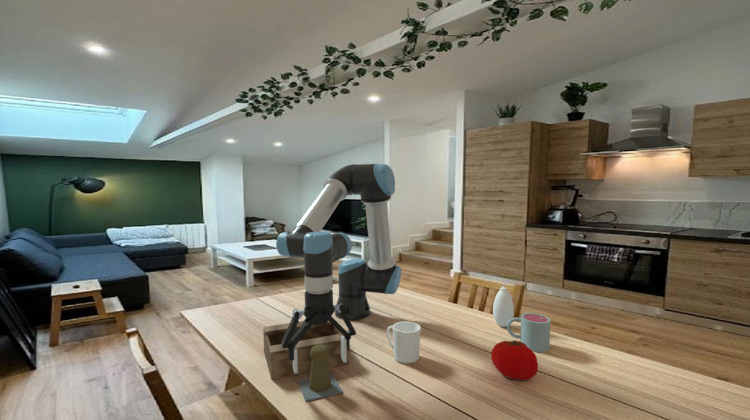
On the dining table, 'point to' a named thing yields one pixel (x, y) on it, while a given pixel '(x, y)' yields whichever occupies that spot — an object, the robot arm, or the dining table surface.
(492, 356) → the tomato
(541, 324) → the mug
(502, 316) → the sauce bottle
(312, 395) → the grey pad
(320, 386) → the cork
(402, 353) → the mug
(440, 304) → the dining table surface
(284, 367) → the walnut box
